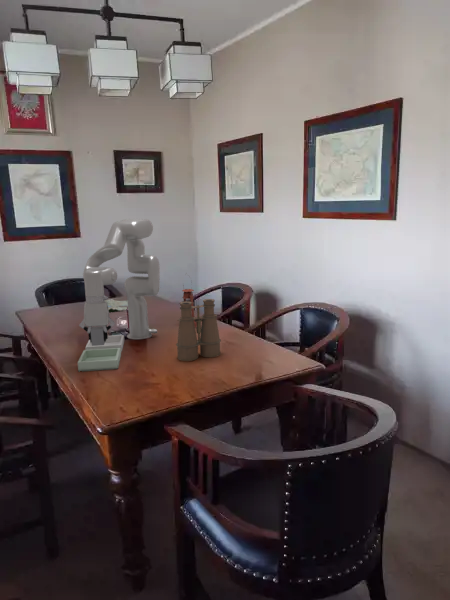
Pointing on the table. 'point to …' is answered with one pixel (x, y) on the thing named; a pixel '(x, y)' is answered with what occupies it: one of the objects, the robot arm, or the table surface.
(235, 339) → the table surface
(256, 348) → the table surface
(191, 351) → the binoculars
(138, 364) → the table surface
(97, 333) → the stone block
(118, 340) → the bin
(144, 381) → the table surface
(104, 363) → the bin
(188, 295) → the lantern
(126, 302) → the topographic map model
